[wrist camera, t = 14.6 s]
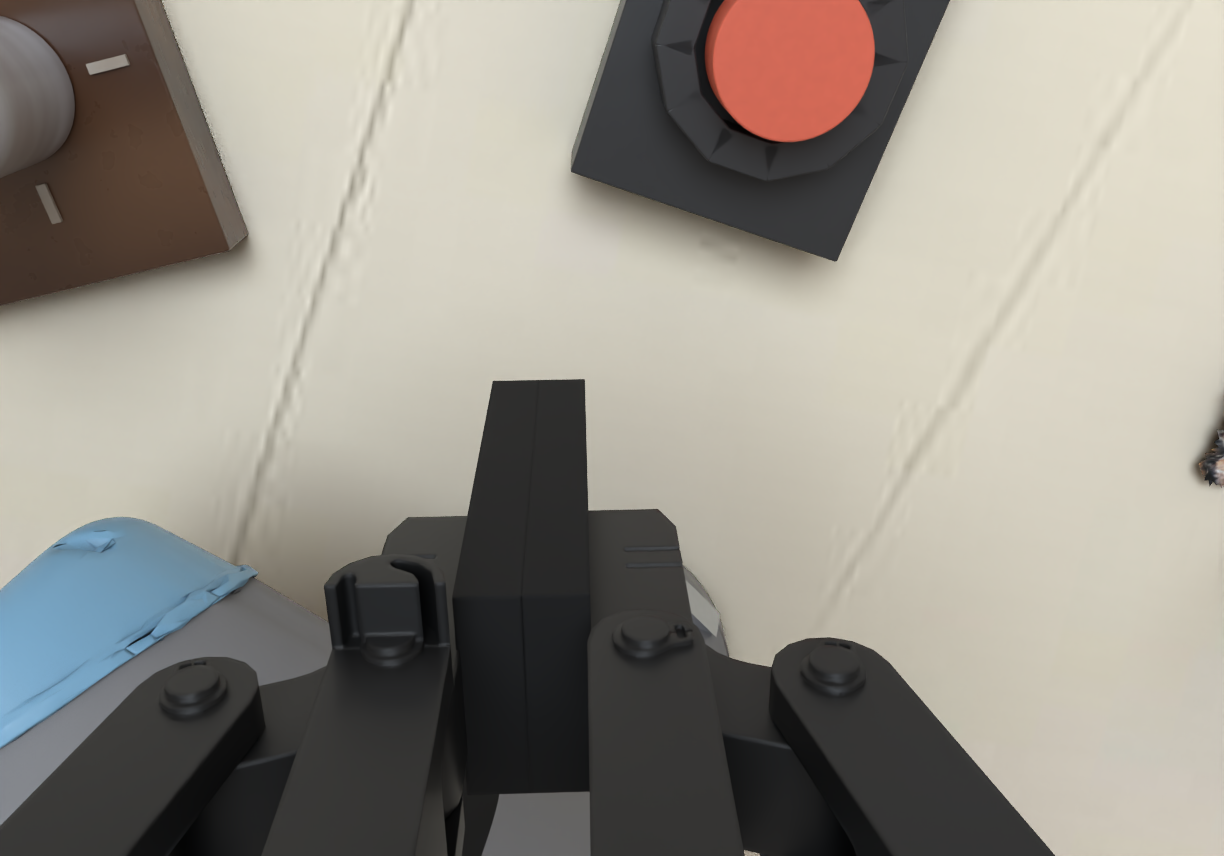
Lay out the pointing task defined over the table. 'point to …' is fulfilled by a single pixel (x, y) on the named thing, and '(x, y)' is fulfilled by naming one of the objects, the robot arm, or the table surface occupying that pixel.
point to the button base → (724, 150)
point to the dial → (31, 98)
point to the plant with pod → (1214, 462)
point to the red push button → (789, 64)
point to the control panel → (114, 158)
